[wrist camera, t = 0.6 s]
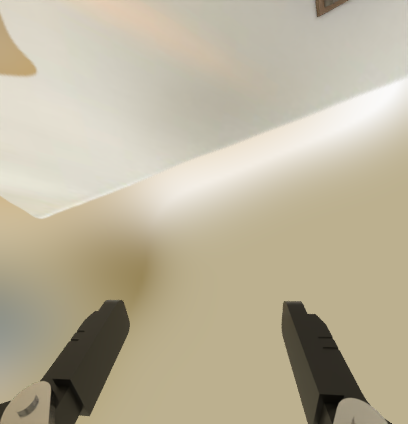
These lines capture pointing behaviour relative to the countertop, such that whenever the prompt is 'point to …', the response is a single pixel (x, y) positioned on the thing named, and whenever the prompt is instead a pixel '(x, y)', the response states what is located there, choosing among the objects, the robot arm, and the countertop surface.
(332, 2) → the holder
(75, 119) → the countertop surface
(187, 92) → the countertop surface
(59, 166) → the countertop surface
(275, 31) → the countertop surface
